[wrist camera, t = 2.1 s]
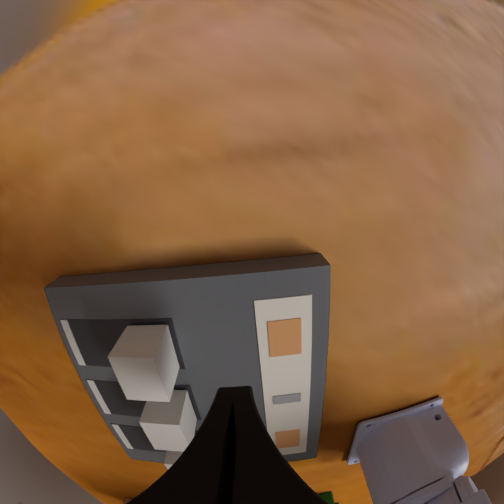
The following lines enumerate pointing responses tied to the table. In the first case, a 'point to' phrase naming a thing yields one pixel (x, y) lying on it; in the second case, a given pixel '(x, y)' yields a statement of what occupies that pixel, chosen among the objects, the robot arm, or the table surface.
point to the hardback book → (328, 497)
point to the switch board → (209, 340)
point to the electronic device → (127, 500)
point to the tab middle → (169, 422)
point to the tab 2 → (172, 457)
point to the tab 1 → (145, 363)
